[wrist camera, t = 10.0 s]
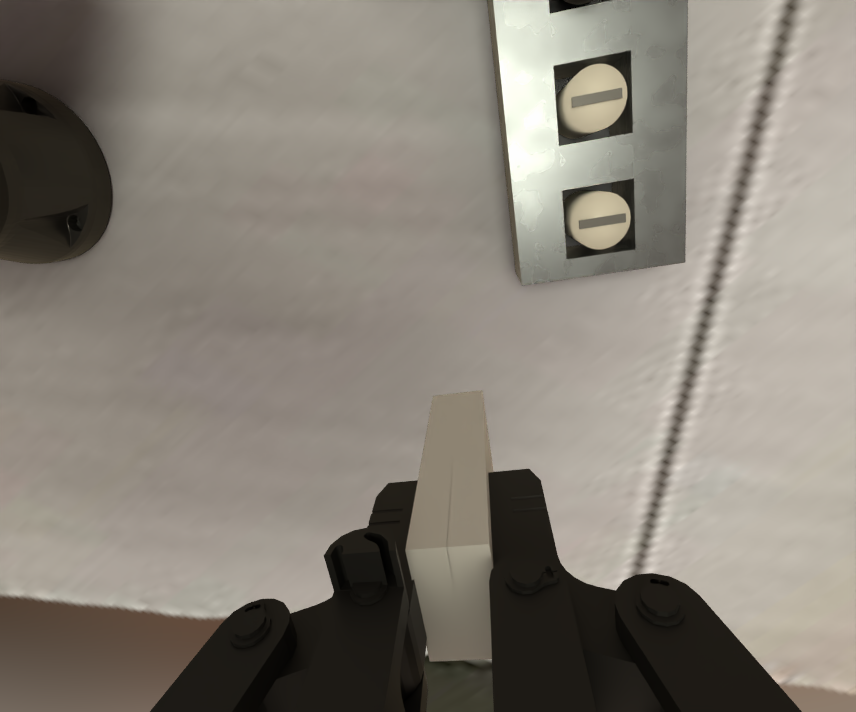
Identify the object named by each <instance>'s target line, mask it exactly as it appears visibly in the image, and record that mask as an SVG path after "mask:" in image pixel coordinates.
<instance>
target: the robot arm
mask: <svg viewBox="0 0 856 712" xmlns="http://www.w3.org/2000/svg"><path fill="white" fill-rule="evenodd" d="M111 198H112V194H111V183H110V178H109V173H108V169H107V166H106V163H105V160H104V158H103V155H102V153H101V151H100V148H99V147H98V145H97V143H96V141H95V139H94V138H93V136H92V135H91V133H90V132H89V130H88V129H87V127H86V126H85V125H84V124H83V122H82V121H81V120H80V119H79V118H78V117H77V116H76V115H75V114H74V113H73V112H72V111H71V110H70V109H69V108H68V107H67V106H66V105H64V104H63V103H62V102H60V101H59V100H58V99H56V98H55V97H53V96H51V95H50V94H48V93H46V92H44V91H42V90H40V89H38V88H35V87H32V86H29V85H25V84H21V83H16V82H12V81H7V80H2V79H0V259H3V260H9V261H15V262H20V263H28V264H43V263H51V262H56V261H61V260H66V259H70V258H73V257H76V256H78V255H81V254H82V253H84V252H86V251H87V250H88V249H90V248H91V247H92V246H93V245H94V244H95V243H96V242H97V241H98V239H99V238H100V237H101V235H102V233H103V232H104V230H105V227H106V225H107V222H108V219H109V215H110V210H111ZM372 512H373V513H372V514H371V517H370V520H369V526H368V527H367V528H364V529H359V530H354V531H352V532H350V533H348V534H346V535H343V536H341V537H340V538H339V539H337V540H336V541H335V542H334V543H333V544H331V545H330V547H329V548H328V550H327V551H326V553H325V555H324V558H325V561H326V565H327V568H328V572H329V575H330V578H331V582H332V585H333V589H334V594H333V597H332V598H330V599H328V600H327V601H325V602H322V603H320V604H318V605H315V606H312V607H309V608H306V609H303V610H300V611H297V612H294V613H291V614H290V612H289V610H288V608H287V607H286V605H285V604H284V603H283V602H281V601H278V600H276V599H260V600H257V601H254V602H251V603H248V604H246V605H244V606H243V607H241V608H239V609H238V610H236V611H234V612H233V613H232V614H231V615H230V616H229V617H228V618H227V619H226V620H225V621H224V622H223V623H222V624H221V625H220V626H219V628H218V629H217V630H216V631H215V633H214V634H213V635H212V636H211V637H210V639H209V640H208V641H207V642H206V643H205V645H204V646H203V647H202V648H201V650H200V651H199V652H198V654H197V655H196V656H195V657H194V658H193V660H192V661H191V662H190V663H189V664H188V666H187V667H186V668H185V669H184V671H183V672H182V673H181V674H180V675H179V677H178V678H177V679H176V680H175V682H174V683H173V684H172V685H171V687H170V688H169V689H168V690H167V691H166V693H165V694H164V695H163V697H162V698H161V699H160V700H159V701H158V703H157V704H156V705H155V706H154V707H153V709H152V710H151V711H150V712H426V708H427V696H428V686H427V678H426V673H425V669H424V661H425V651H426V646H427V650H428V655H429V659H430V661H455V660H480V659H492V673H493V699H494V712H801V710H799V708H798V707H797V706H796V705H795V703H794V702H793V701H792V700H791V699H790V698H789V697H788V696H787V694H786V693H785V692H784V691H783V690H782V689H781V688H780V686H779V685H778V684H777V683H776V682H775V681H774V680H773V678H772V677H771V676H770V675H769V674H768V673H767V672H766V670H765V669H764V668H763V667H762V666H761V665H760V664H759V663H758V661H757V660H756V659H755V658H754V657H753V656H752V655H751V653H750V652H749V651H748V650H747V649H746V648H745V647H744V645H743V644H742V643H741V642H740V641H739V640H738V639H737V638H736V636H735V635H734V634H733V633H732V632H731V631H730V630H729V628H728V627H727V626H726V625H725V624H724V623H723V622H722V620H721V619H720V618H719V617H718V616H717V615H716V614H715V613H714V611H713V610H712V609H711V608H710V607H709V606H708V605H707V603H706V602H705V601H704V600H703V599H702V598H701V597H700V595H698V594H697V593H696V592H695V591H694V590H692V589H691V588H690V587H689V586H688V585H686V584H685V583H683V582H680V581H678V580H676V579H674V578H672V577H669V576H664V575H659V574H653V573H650V574H639V575H635V576H633V577H631V578H628V579H626V580H624V581H623V582H622V584H621V585H620V586H619V587H618V589H617V590H616V591H615V590H610V589H605V588H601V587H596V586H593V585H590V584H586V583H584V582H582V581H580V580H578V579H576V578H575V577H573V576H572V575H571V574H570V573H568V572H567V571H566V570H565V568H564V567H563V566H562V565H561V563H560V561H559V558H558V555H557V551H556V547H555V542H554V538H553V533H552V529H551V524H550V520H549V516H548V511H547V507H546V502H545V498H544V494H543V489H542V485H541V480H540V479H539V478H538V477H537V476H536V475H535V474H534V473H533V472H532V471H531V470H530V469H522V470H511V471H500V472H493V464H492V457H491V450H490V443H489V436H488V429H487V421H486V414H485V407H484V400H483V393H482V390H481V391H473V392H464V393H455V394H447V395H438V396H433V400H432V405H431V411H430V416H429V422H428V427H427V433H426V438H425V444H424V449H423V455H422V460H421V466H420V472H419V477H418V481H407V482H396V483H388V484H387V485H386V487H385V488H384V489H383V490H382V491H381V492H380V493H379V494H378V496H377V497H376V501H375V504H374V507H373V510H372Z"/></svg>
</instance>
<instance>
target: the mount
mask: <svg viewBox="0 0 856 712" xmlns="http://www.w3.org/2000/svg"><path fill="white" fill-rule="evenodd" d="M487 4H488V13H489V23H490V33H491V42H492V52H493V61H494V71H495V80H496V90H497V99H498V109H499V119H500V128H501V138H502V147H503V157H504V166H505V176H506V186H507V195H508V205H509V214H510V224H511V233H512V243H513V252H514V262H515V272H516V274H517V276H518V278H519V280H520V283H521V285H522V286H523V285H530V284H537V283H544V282H551V281H558V280H565V279H572V278H579V277H586V276H593V275H600V274H607V273H614V272H621V271H628V270H636V269H643V268H650V267H657V266H664V265H671V264H678V263H685V234H686V136H687V38H688V0H605V2H602V3H597V4H592V5H588V6H583V7H578V8H574V9H569V10H564V11H560V12H555V13H551V14H550V11H549V0H487ZM594 64H607V65H610V66H612V67H614V68H615V69H617V70H618V71H619V72H620V73H621V74H622V76H623V78H624V79H625V82H626V86H627V101H626V105H625V107H624V110H623V112H622V114H621V115H620V116H619V118H618V119H617V120H616V121H615V122H614V123H613V124H611V125H610V126H609V130H610V137H606V138H601V139H595V140H590V141H584V142H578V143H573V144H567V145H562V146H559V141H558V126H557V112H556V98H555V83H554V80H557V79H562V78H567V77H572V76H575V75H577V74H578V73H579V72H580V71H581V70H582V69H584V68H586V67H588V66H590V65H594ZM610 182H611V184H612V193H615V194H617V195H619V196H620V197H622V198H623V199H624V200H625V202H626V203H627V205H628V207H629V210H630V216H631V219H630V225H629V228H628V230H627V232H626V234H625V236H624V237H623V238H622V239H621V240H620V241H619V242H618V243H617V244H615V245H613V246H611V247H609V248H606V249H592V248H589V247H587V246H585V245H577V246H570V247H566V242H565V227H564V213H563V198H562V190H568V189H574V188H580V187H586V186H592V185H598V184H604V183H610Z"/></svg>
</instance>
